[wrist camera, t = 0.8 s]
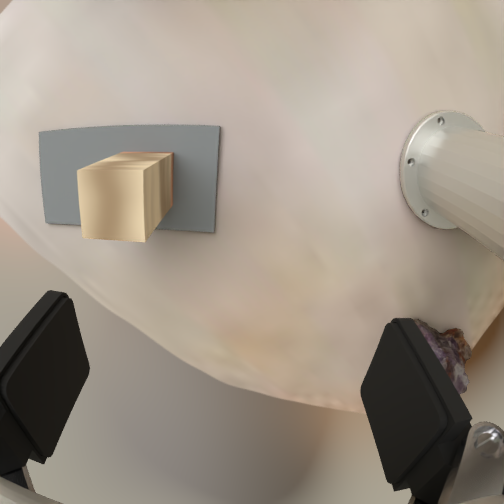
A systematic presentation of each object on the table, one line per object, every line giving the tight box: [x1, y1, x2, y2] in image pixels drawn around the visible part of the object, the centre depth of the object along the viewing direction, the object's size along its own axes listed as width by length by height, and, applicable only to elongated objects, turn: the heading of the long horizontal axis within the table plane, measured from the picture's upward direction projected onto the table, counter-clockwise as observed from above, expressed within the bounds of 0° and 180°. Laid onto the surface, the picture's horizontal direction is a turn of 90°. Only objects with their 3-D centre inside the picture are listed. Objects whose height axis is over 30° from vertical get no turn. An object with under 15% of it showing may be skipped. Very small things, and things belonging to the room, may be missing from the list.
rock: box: [414, 319, 472, 395], centre depth 35 cm, size 12×9×10 cm
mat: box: [39, 125, 220, 232], centre depth 29 cm, size 19×10×1 cm, turn 85°
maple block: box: [77, 152, 174, 242], centre depth 25 cm, size 5×5×9 cm
